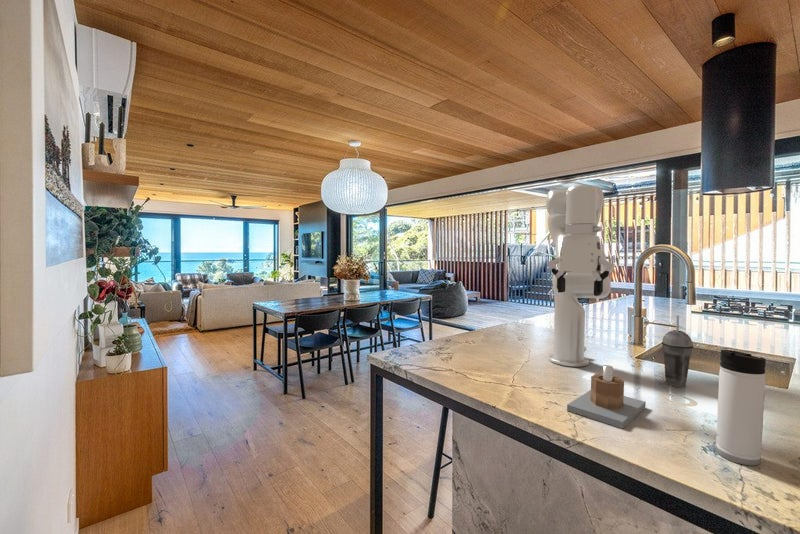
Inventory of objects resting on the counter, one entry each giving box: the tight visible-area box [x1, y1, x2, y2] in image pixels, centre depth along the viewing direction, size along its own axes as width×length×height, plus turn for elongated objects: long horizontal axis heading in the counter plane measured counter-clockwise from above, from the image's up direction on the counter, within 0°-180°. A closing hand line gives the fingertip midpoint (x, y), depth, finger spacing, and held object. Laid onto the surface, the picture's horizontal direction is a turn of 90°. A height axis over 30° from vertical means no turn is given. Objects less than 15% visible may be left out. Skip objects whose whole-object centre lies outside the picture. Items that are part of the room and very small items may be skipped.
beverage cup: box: [661, 315, 694, 389], centre depth 106 cm, size 7×7×20 cm
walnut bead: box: [590, 373, 625, 409], centre depth 90 cm, size 6×6×6 cm
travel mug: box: [715, 349, 767, 467], centre depth 70 cm, size 6×7×20 cm
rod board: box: [566, 389, 647, 430], centre depth 91 cm, size 16×12×2 cm
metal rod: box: [602, 364, 614, 382], centre depth 90 cm, size 2×2×9 cm
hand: (578, 293), depth 103 cm, fingers open, 9 cm apart
